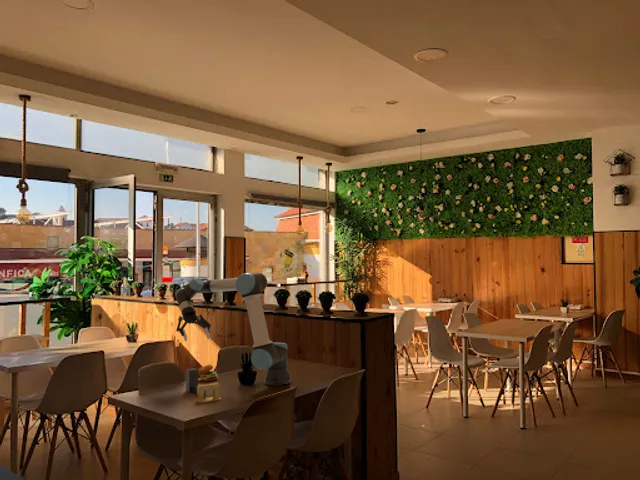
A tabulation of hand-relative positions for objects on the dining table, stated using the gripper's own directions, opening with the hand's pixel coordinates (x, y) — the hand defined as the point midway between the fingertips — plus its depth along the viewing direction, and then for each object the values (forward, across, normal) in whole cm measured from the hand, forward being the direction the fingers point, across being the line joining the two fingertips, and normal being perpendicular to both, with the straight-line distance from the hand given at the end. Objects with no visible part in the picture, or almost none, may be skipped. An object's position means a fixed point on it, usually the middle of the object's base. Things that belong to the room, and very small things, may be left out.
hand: (197, 338), depth 305 cm
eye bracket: (+42, +8, +4) cm, 43 cm away
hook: (+32, +8, -6) cm, 33 cm away
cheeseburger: (+10, -11, -28) cm, 32 cm away
